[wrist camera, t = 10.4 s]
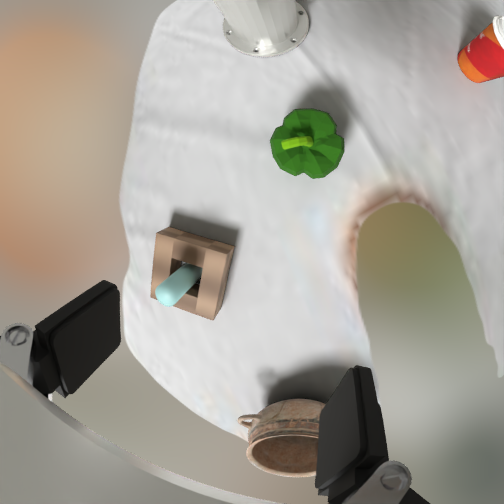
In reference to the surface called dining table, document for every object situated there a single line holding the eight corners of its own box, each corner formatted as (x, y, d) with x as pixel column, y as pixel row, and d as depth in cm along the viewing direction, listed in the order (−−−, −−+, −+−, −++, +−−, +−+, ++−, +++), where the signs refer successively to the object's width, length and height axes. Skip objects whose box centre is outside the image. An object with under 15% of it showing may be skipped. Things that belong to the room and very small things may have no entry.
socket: (169, 226, 42) (156, 232, 38) (234, 246, 41) (227, 254, 37) (161, 287, 45) (150, 297, 42) (220, 308, 44) (213, 320, 40)
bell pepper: (341, 123, 32) (353, 107, 23) (334, 181, 35) (343, 185, 26) (280, 114, 34) (270, 95, 24) (273, 171, 36) (261, 172, 27)
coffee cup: (479, 48, 22) (524, 20, 8) (494, 91, 24) (548, 75, 10) (443, 42, 24) (486, 5, 10) (460, 87, 26) (515, 63, 12)
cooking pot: (374, 407, 45) (381, 453, 34) (317, 447, 52) (314, 487, 40) (275, 358, 45) (263, 409, 34) (227, 407, 52) (210, 450, 41)
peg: (187, 256, 43) (156, 280, 33) (205, 262, 42) (178, 288, 33) (184, 274, 44) (154, 301, 34) (202, 280, 43) (175, 309, 34)
